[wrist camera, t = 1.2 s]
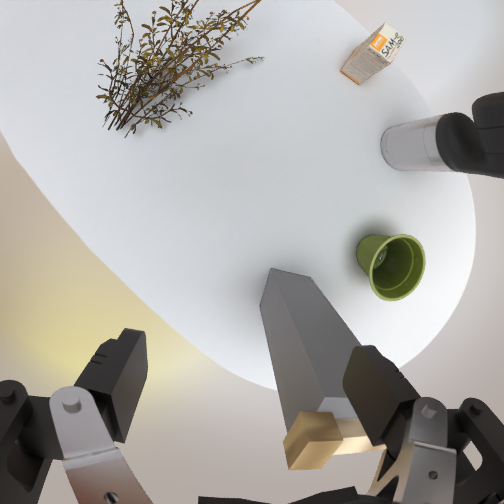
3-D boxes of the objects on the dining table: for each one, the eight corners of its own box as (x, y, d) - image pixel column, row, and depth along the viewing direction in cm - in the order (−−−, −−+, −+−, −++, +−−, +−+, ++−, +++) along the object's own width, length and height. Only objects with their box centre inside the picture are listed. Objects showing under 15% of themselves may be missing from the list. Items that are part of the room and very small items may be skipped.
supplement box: (358, 86, 44) (391, 65, 32) (339, 71, 44) (367, 45, 31) (375, 61, 43) (407, 39, 30) (356, 47, 42) (385, 21, 29)
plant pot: (345, 223, 51) (372, 235, 40) (396, 222, 52) (428, 233, 41) (342, 282, 54) (366, 305, 43) (391, 277, 55) (420, 297, 44)
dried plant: (99, 215, 31) (398, -61, 8) (17, 84, 26) (196, -131, 3) (206, 167, 56) (374, 27, 34) (127, 79, 52) (261, -54, 29)
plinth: (310, 277, 53) (398, 396, 21) (297, 313, 55) (360, 448, 22) (270, 268, 52) (324, 397, 20) (259, 306, 54) (291, 451, 21)
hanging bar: (442, 403, 22) (456, 421, 19) (422, 430, 23) (434, 448, 20) (300, 411, 20) (308, 441, 16) (282, 441, 21) (288, 469, 17)
